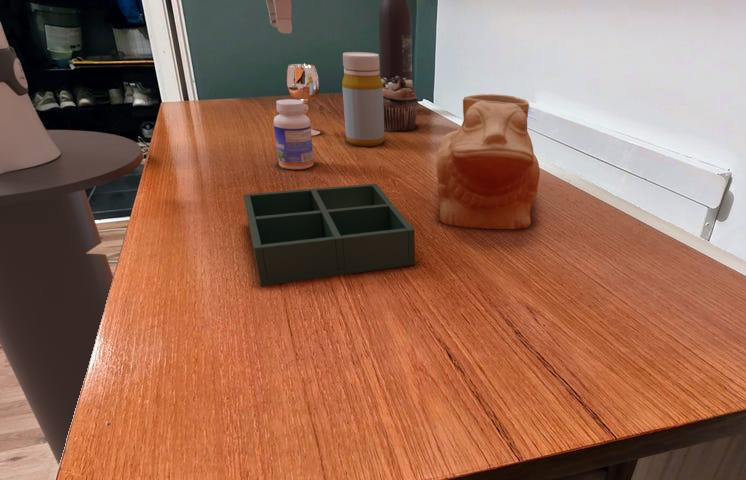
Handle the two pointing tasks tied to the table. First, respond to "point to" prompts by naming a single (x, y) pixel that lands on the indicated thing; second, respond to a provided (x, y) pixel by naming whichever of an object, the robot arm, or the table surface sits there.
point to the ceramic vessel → (488, 166)
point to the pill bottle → (293, 135)
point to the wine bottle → (395, 38)
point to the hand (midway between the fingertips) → (281, 30)
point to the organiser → (326, 233)
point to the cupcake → (399, 103)
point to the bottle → (363, 99)
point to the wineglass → (303, 85)
